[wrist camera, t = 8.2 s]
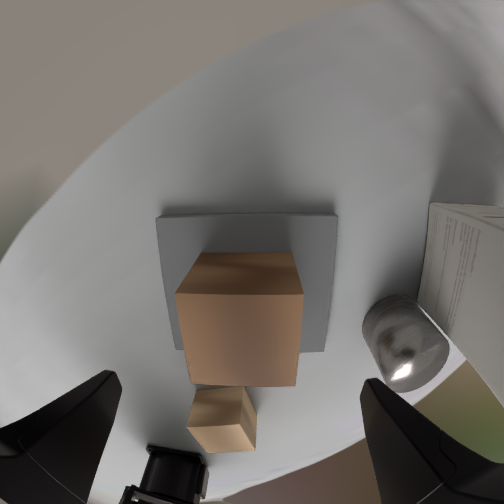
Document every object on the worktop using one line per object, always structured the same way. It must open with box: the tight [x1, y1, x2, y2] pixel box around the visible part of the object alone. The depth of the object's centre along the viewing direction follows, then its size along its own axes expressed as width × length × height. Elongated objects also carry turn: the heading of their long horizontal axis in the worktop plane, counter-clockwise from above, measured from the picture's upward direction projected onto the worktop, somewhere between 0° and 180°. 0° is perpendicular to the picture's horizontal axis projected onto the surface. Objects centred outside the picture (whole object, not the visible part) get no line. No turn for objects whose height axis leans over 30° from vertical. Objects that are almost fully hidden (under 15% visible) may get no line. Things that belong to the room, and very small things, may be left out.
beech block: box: [187, 386, 257, 453], centre depth 18 cm, size 4×4×4 cm
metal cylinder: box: [362, 294, 450, 393], centre depth 15 cm, size 4×4×5 cm
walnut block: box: [175, 252, 304, 387], centre depth 13 cm, size 5×5×5 cm
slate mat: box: [156, 213, 338, 353], centre depth 16 cm, size 10×9×1 cm
